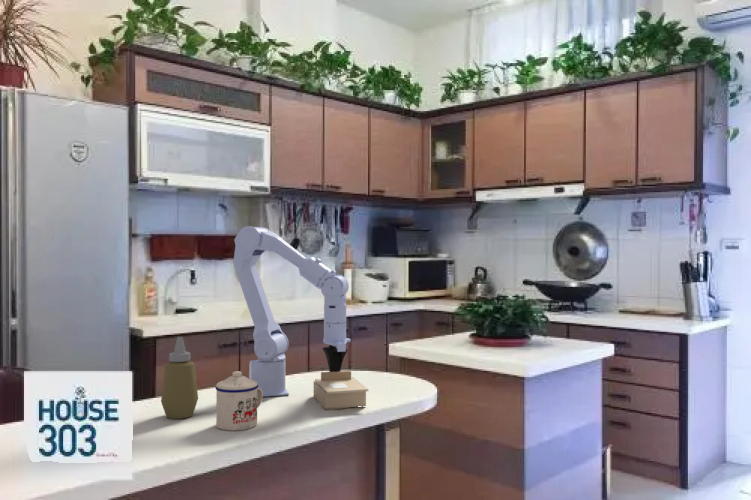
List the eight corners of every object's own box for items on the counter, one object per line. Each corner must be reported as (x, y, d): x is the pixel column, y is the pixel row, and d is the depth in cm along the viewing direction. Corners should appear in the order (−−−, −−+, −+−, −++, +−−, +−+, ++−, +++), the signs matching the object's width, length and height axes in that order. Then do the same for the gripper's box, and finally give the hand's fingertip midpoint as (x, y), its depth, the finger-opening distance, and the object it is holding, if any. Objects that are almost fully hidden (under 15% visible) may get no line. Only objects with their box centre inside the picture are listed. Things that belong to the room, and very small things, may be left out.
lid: (315, 381, 161) (315, 371, 161) (353, 378, 164) (353, 369, 164) (327, 393, 148) (327, 383, 148) (368, 391, 151) (368, 380, 151)
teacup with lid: (235, 434, 131) (235, 378, 131) (206, 426, 136) (206, 372, 136) (276, 421, 141) (276, 368, 140) (247, 414, 146) (247, 364, 146)
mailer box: (313, 396, 163) (313, 380, 163) (350, 393, 166) (351, 378, 166) (325, 410, 150) (325, 393, 150) (365, 407, 153) (365, 390, 153)
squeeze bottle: (160, 413, 146) (160, 335, 146) (196, 410, 149) (196, 333, 149) (161, 422, 139) (161, 340, 139) (199, 419, 142) (199, 338, 141)
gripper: (357, 325, 156) (357, 380, 157) (343, 318, 170) (342, 368, 171) (329, 326, 154) (329, 381, 155) (317, 319, 168) (317, 370, 168)
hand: (334, 375), depth 162 cm, fingers closed
